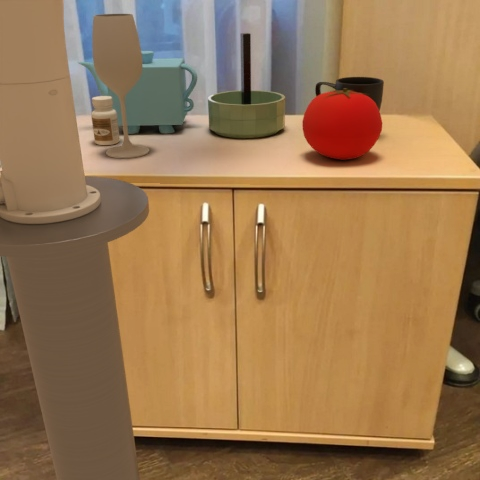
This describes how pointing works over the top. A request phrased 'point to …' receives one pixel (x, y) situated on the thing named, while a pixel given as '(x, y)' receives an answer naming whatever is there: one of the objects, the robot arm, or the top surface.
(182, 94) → the teapot
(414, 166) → the top surface
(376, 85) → the mug
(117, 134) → the pill bottle
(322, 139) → the tomato
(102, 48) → the wineglass
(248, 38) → the square post on disc
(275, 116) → the bowl
